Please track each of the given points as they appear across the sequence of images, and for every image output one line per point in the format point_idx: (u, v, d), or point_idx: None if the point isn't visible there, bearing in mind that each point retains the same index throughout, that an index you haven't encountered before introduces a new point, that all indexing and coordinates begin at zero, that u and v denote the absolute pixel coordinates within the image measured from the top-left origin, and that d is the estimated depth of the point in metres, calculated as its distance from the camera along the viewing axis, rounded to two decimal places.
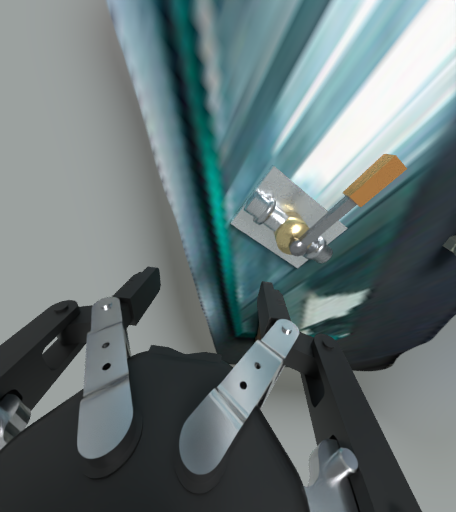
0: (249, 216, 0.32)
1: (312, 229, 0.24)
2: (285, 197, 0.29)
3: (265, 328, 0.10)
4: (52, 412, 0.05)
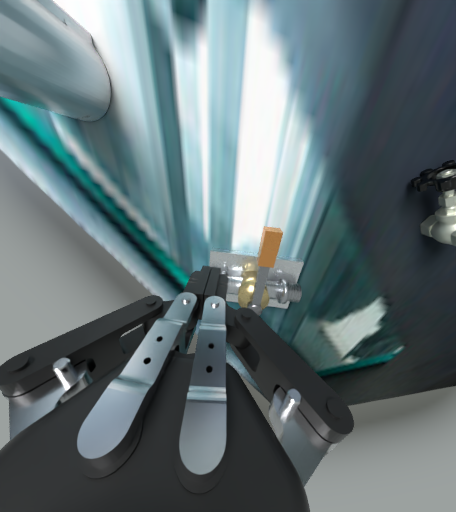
0: None
1: (253, 293, 0.27)
2: (234, 264, 0.34)
3: (203, 306, 0.11)
4: (51, 412, 0.05)
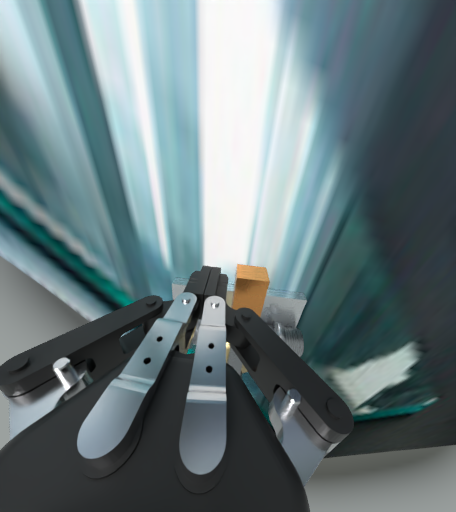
0: None
1: (227, 362, 0.17)
2: None
3: (203, 305, 0.11)
4: (51, 412, 0.05)
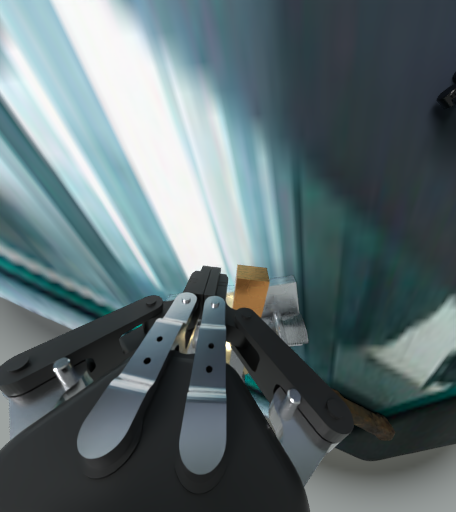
0: None
1: (229, 363, 0.17)
2: None
3: (203, 305, 0.11)
4: (51, 412, 0.05)
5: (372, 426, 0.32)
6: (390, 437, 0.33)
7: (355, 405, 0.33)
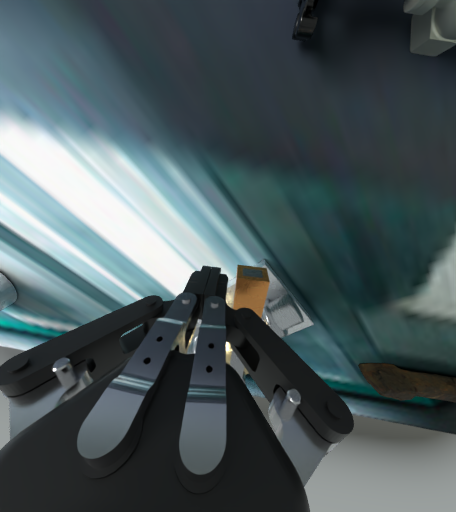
0: None
1: (230, 363, 0.17)
2: (200, 321, 0.26)
3: (203, 305, 0.11)
4: (51, 412, 0.05)
5: None
6: None
7: (423, 374, 0.27)
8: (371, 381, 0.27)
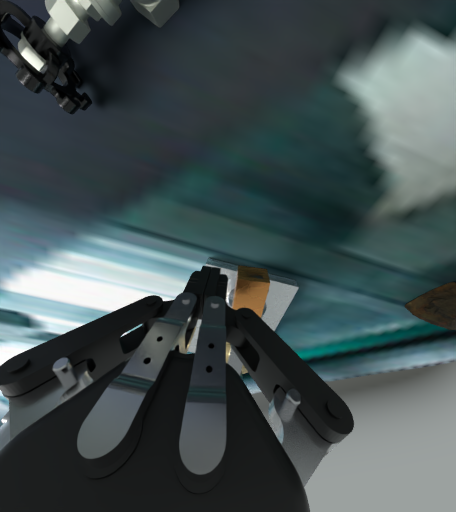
0: None
1: None
2: None
3: (203, 305, 0.11)
4: (51, 412, 0.05)
5: None
6: None
7: None
8: (426, 319, 0.20)
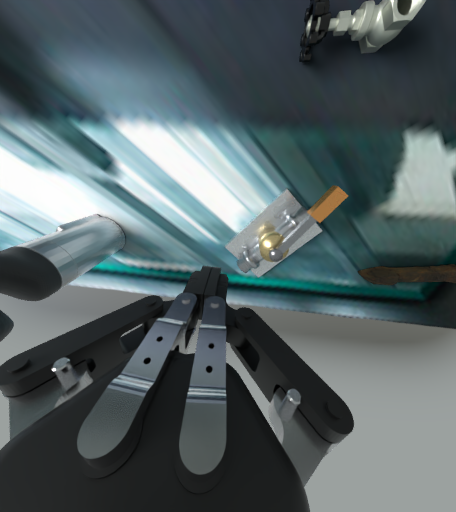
0: None
1: (285, 239, 0.30)
2: (246, 240, 0.39)
3: (203, 305, 0.11)
4: (52, 412, 0.05)
5: (431, 273, 0.37)
6: None
7: (406, 267, 0.39)
8: (366, 277, 0.39)
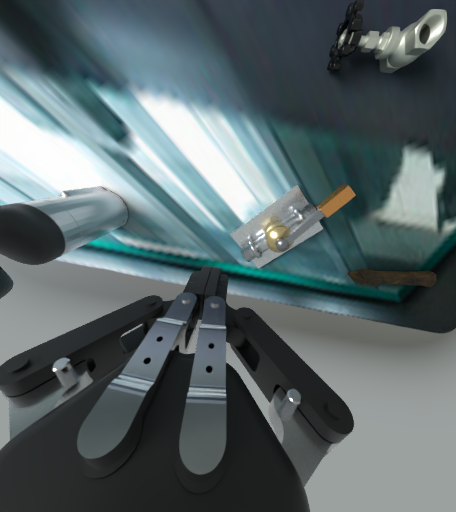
0: None
1: (294, 230, 0.32)
2: (252, 230, 0.41)
3: (203, 305, 0.11)
4: (52, 412, 0.05)
5: (409, 277, 0.42)
6: (433, 279, 0.41)
7: (388, 271, 0.44)
8: (355, 278, 0.43)
